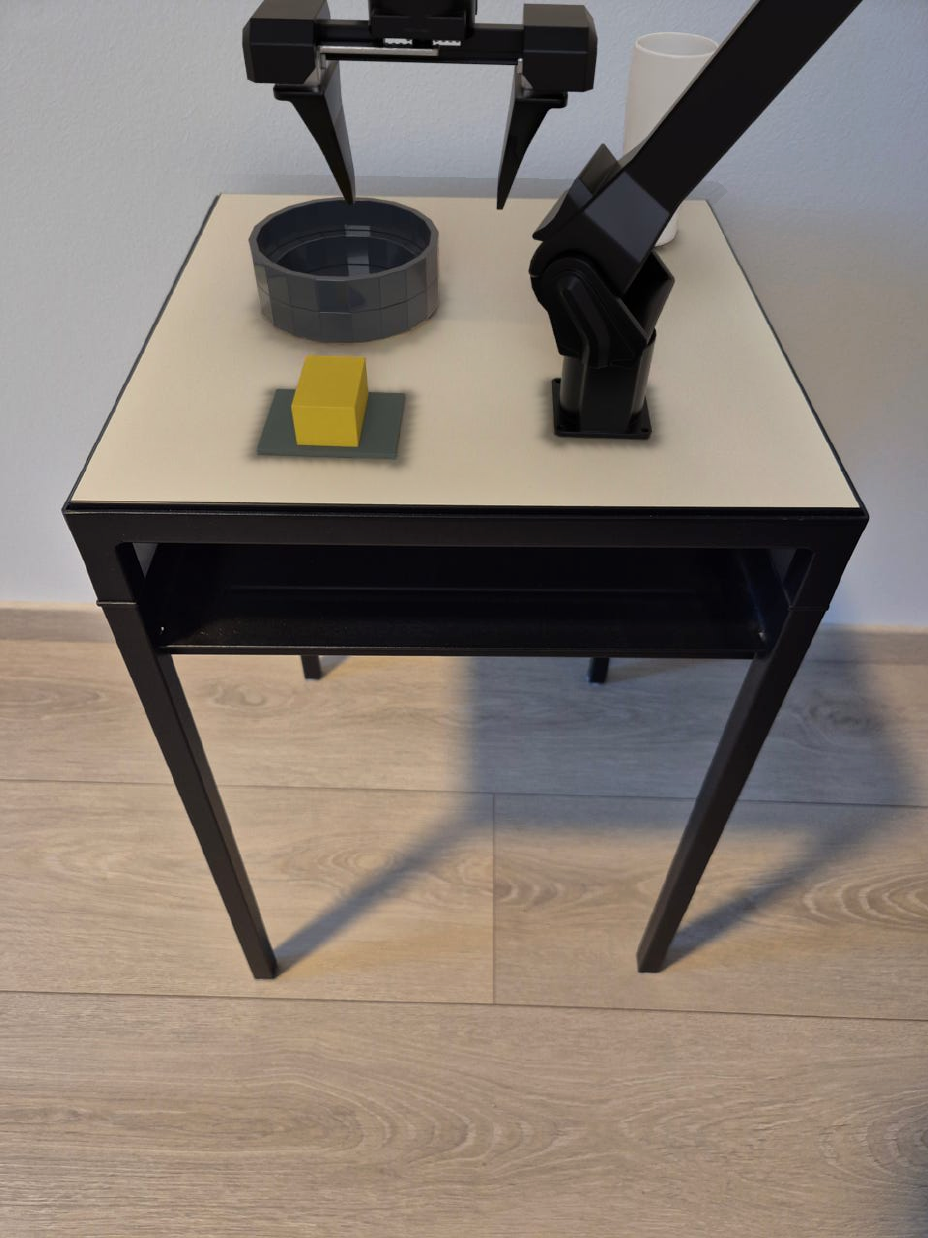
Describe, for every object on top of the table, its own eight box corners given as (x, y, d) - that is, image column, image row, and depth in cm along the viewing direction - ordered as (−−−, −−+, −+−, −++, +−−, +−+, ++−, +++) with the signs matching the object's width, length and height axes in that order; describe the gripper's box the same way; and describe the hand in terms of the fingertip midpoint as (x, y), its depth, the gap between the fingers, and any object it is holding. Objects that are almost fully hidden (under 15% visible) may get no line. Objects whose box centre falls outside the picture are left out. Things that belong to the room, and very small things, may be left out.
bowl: (433, 353, 64) (432, 282, 60) (244, 347, 65) (230, 276, 61) (443, 265, 74) (443, 199, 70) (278, 260, 74) (269, 193, 70)
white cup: (681, 256, 76) (721, 59, 64) (604, 248, 76) (630, 52, 65) (683, 223, 80) (721, 34, 69) (610, 216, 81) (636, 28, 70)
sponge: (358, 447, 56) (354, 407, 54) (296, 445, 56) (290, 405, 54) (368, 395, 60) (365, 356, 58) (311, 393, 60) (306, 354, 58)
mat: (395, 459, 56) (395, 454, 55) (257, 454, 56) (256, 449, 56) (405, 397, 60) (404, 392, 60) (277, 393, 61) (276, 388, 60)
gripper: (600, -144, 47) (570, 159, 59) (261, -152, 48) (297, 151, 59) (616, -109, 40) (578, 231, 51) (214, -119, 40) (266, 221, 52)
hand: (425, 204), depth 54 cm, fingers open, 9 cm apart
